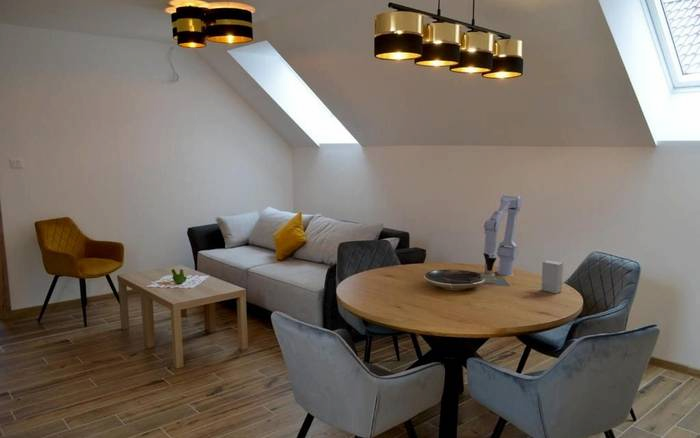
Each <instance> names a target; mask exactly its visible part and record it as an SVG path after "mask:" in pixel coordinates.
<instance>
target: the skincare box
mask: <svg viewBox="0 0 700 438" xmlns="http://www.w3.org/2000/svg"><path fill="white" fill-rule="evenodd" d="M541 268H542V269H541V270H542V271H541V291H542V290H543V291H542V292H547V291H548V292H547V293H552V294H556V293H557V294H560V293H562V292H563V291H562V290H563V270H564V269H563V268H564V263H563V262H560V261H554V260H545V261H542V267H541ZM559 292H560V293H559Z"/></svg>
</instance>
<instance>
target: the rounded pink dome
mask: <svg viewBox="0 0 700 438" xmlns="http://www.w3.org/2000/svg"><path fill="white" fill-rule="evenodd" d="M494 267H495V264H494V265H493V268H492V271H488V270H487V263H484V271H483V272H484V274H487V275H493V273H494Z"/></svg>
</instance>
